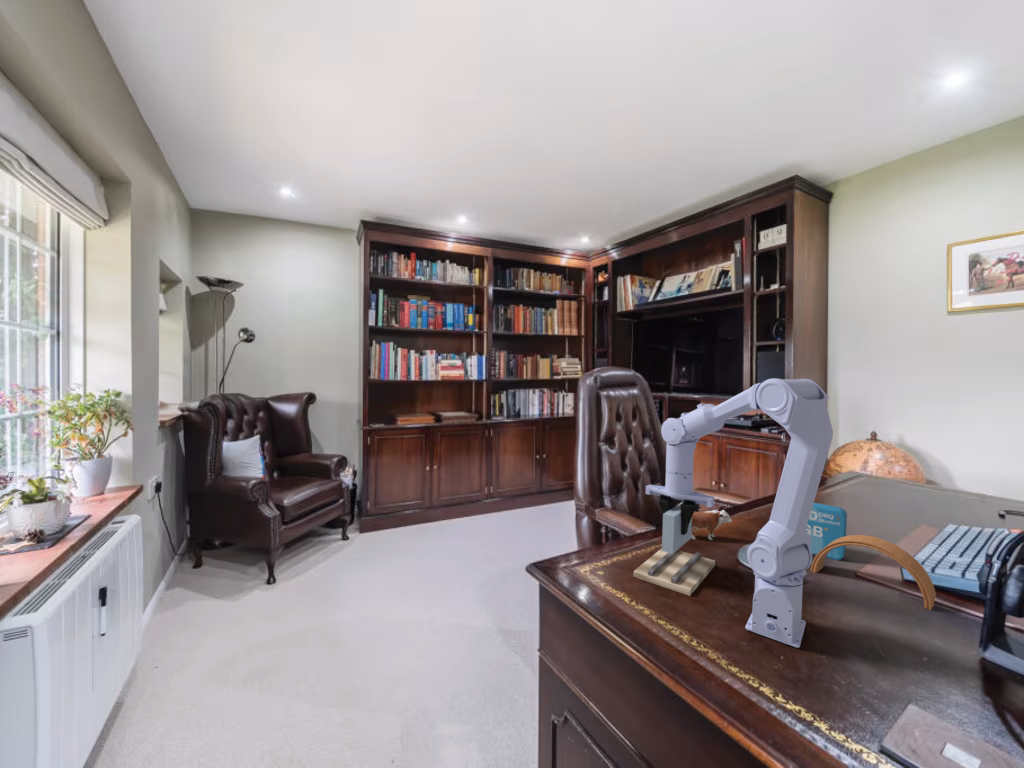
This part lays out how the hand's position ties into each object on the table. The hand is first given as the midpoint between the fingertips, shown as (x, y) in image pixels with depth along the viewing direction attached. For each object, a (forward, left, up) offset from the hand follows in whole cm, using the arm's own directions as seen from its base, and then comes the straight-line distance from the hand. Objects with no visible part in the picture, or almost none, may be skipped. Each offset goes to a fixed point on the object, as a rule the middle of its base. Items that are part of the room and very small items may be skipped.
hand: (677, 531), depth 97 cm
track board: (0, 0, -9) cm, 9 cm away
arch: (+22, -34, -9) cm, 41 cm away
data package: (+35, -23, -9) cm, 43 cm away
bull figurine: (+25, +1, -9) cm, 27 cm away
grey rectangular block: (0, 0, -3) cm, 3 cm away
